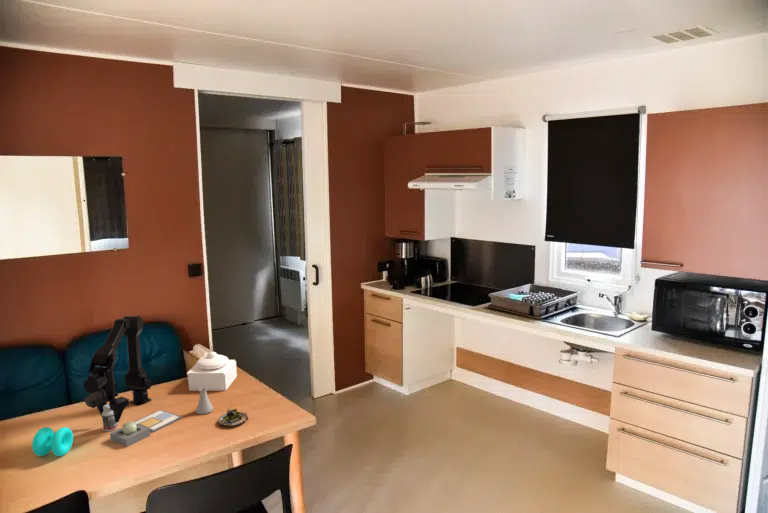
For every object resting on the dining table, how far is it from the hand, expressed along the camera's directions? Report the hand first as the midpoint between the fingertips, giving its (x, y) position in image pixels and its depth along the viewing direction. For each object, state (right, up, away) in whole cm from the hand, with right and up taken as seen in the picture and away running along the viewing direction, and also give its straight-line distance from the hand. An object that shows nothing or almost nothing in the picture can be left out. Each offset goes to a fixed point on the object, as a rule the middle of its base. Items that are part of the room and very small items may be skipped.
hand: (110, 419), depth 213 cm
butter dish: (+27, +3, +45) cm, 52 cm away
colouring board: (+16, -3, +6) cm, 17 cm away
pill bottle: (0, -4, +1) cm, 4 cm away
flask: (+33, -1, +15) cm, 36 cm away
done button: (+12, -3, -7) cm, 14 cm away
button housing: (+12, -5, -7) cm, 15 cm away
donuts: (-11, -7, -18) cm, 22 cm away
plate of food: (+48, -3, +5) cm, 48 cm away
